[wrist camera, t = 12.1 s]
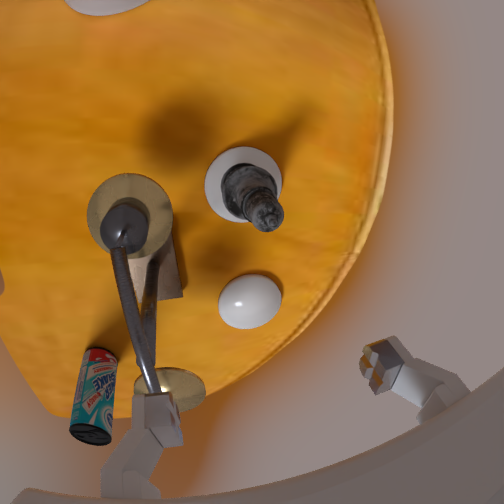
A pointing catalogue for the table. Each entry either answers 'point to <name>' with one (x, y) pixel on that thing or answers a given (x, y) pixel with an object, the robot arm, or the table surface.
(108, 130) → the table surface
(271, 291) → the dish high side
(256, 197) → the chess piece
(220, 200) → the dish low side
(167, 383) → the balance
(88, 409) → the beverage can
